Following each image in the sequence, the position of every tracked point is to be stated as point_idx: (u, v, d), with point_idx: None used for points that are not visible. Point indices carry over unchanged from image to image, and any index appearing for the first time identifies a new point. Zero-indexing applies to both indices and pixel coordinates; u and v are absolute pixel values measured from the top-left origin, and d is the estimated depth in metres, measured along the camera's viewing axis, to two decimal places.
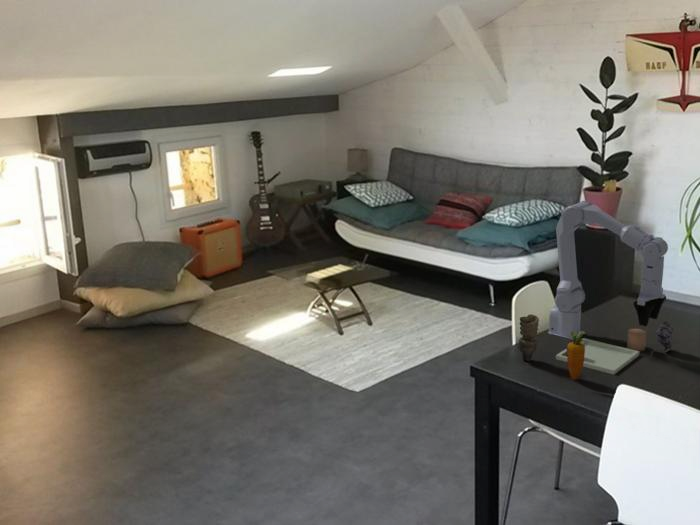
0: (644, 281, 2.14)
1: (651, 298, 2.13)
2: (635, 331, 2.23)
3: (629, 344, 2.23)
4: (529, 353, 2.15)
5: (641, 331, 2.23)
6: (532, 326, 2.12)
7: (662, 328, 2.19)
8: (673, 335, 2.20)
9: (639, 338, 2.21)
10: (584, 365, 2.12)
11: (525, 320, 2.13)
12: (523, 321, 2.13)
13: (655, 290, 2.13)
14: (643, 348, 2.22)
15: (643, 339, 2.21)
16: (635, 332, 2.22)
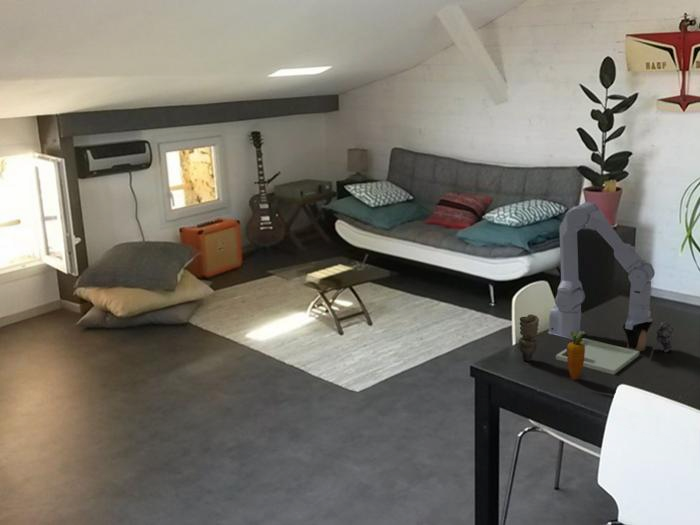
0: (632, 305, 2.19)
1: (639, 322, 2.18)
2: None
3: None
4: (529, 353, 2.15)
5: None
6: (532, 326, 2.12)
7: (662, 328, 2.19)
8: (673, 335, 2.20)
9: (639, 338, 2.21)
10: (584, 365, 2.12)
11: (525, 320, 2.13)
12: (523, 321, 2.13)
13: (642, 314, 2.18)
14: (643, 348, 2.22)
15: (643, 339, 2.21)
16: None
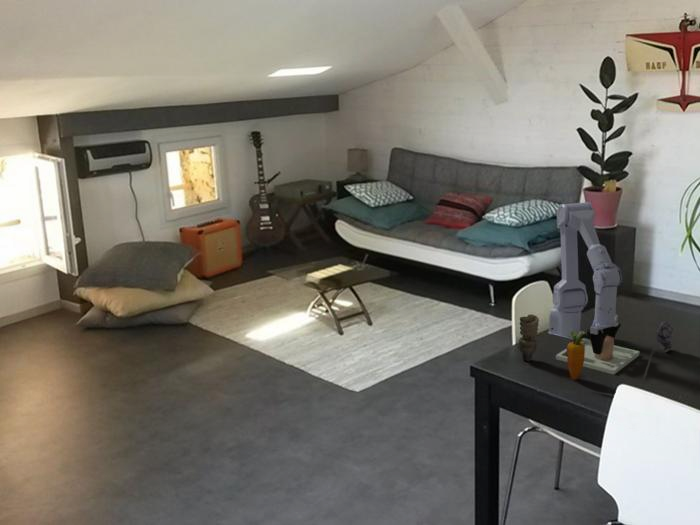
0: (597, 309, 2.13)
1: (604, 327, 2.11)
2: None
3: None
4: (529, 353, 2.15)
5: (608, 338, 2.16)
6: (532, 326, 2.12)
7: (662, 328, 2.19)
8: (673, 335, 2.20)
9: (607, 346, 2.14)
10: (584, 365, 2.12)
11: (525, 320, 2.13)
12: (523, 321, 2.13)
13: (608, 318, 2.12)
14: (611, 355, 2.16)
15: (611, 346, 2.15)
16: None
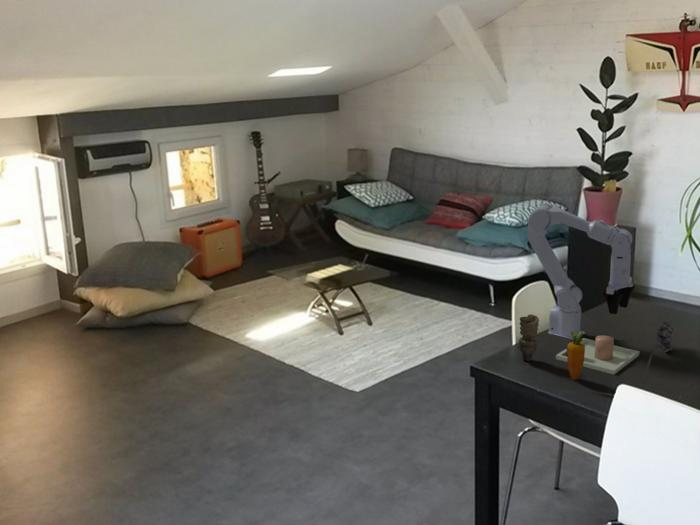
0: (613, 271, 2.24)
1: (619, 287, 2.23)
2: (602, 338, 2.17)
3: (597, 352, 2.17)
4: (529, 353, 2.15)
5: (608, 338, 2.16)
6: (532, 326, 2.12)
7: (662, 328, 2.19)
8: (673, 335, 2.20)
9: (607, 345, 2.14)
10: (584, 365, 2.12)
11: (525, 320, 2.13)
12: (523, 321, 2.13)
13: (623, 279, 2.23)
14: (611, 355, 2.16)
15: (611, 346, 2.15)
16: (603, 339, 2.16)
